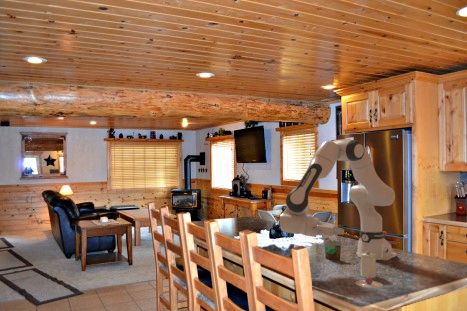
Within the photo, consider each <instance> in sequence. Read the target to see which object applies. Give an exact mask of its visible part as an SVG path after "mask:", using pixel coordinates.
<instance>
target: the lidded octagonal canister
mask: <svg viewBox="0 0 467 311" xmlns="http://www.w3.org/2000/svg"><path fill="white" fill-rule="evenodd" d="M376 263H377V260H376V257H375V254H373V253H370V251H366V253H361V258H360V276H361V277H362V278H365V279H366V277H371V278H372V279H373V278H376V277H377V270H376V268H377V266H376V265H377V264H376Z"/></svg>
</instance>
